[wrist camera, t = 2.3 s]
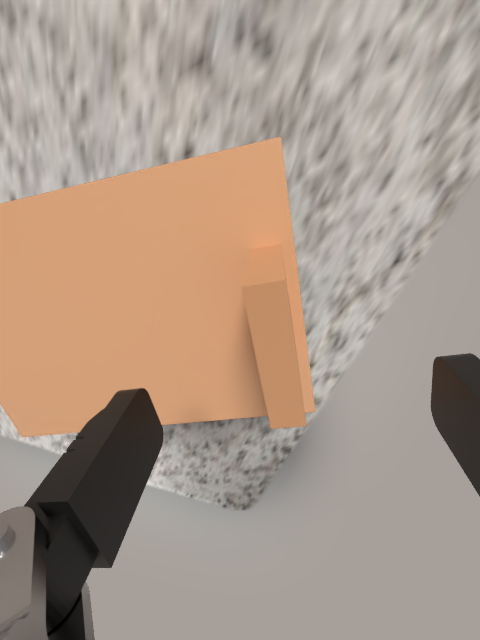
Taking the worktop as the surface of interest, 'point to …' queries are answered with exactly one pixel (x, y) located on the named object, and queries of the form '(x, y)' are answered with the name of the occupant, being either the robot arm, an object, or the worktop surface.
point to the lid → (155, 296)
